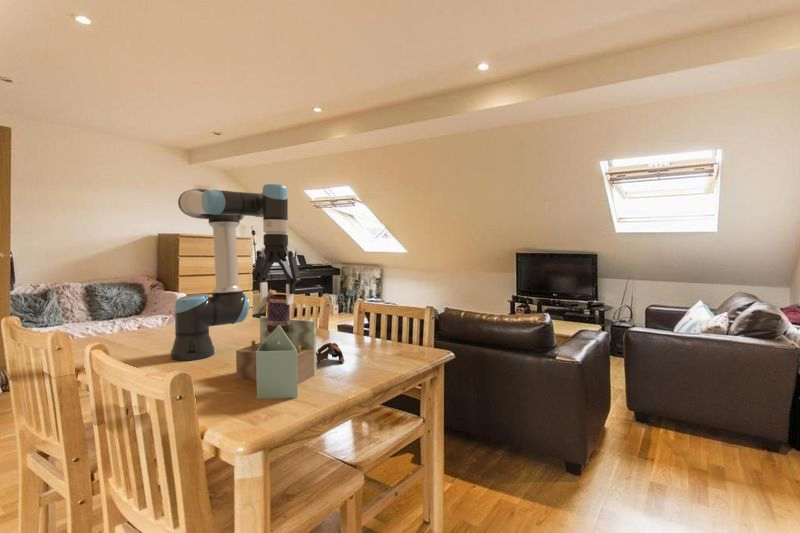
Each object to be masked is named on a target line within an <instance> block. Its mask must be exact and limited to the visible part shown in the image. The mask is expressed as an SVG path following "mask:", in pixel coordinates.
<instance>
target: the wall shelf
mask: <svg viewBox="0 0 800 533" xmlns="http://www.w3.org/2000/svg"><path fill="white" fill-rule="evenodd" d="M267 319H268V317H267V316H263V315H261V316H260V317H259V341H260V342H258V343H256V340H251V343H250V344H251V345H249V346H246V347H243V348H239V349H237V350H235V356H236V358H235V359H236V360H235V361H236V369H235V370H236V379H240V380H241V379H242V380H248V381H255V382H257V378H256V351H257V349H258V348H259V346H260V345H261V344H262V342H263V341H264V340H265V339H266V338H267V337H268V336H269V335H270V334H271V333H269V332H268V331H267V325H268V324H267ZM289 319H290V325H289V331H288V332H287V333H285V334H286V335H287V337H288V338H289V339H290V341H291V342H292V344H293V345H294V347H295V348H296V350H297V372H298V385H300V384H301V383H303V382H305V381H307V380H309V379H311V378H313V377H315V376H316V375H317V361H316V360H317V359H316V358H317V356H316V352H317V321H316V320H308V319H295V318H289ZM279 343H280V338H279Z"/></svg>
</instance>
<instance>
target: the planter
mask: <svg viewBox="0 0 800 533" xmlns="http://www.w3.org/2000/svg"><path fill="white" fill-rule="evenodd" d="M279 338H280V343H279ZM256 378H257V381H256V399H259V400H270V399H271V400H274V399H297V398H298V397H299V394H298V392H299V391H298V390H299V388H298V385H299V384H298V372H297V350H296V348H295V347H294V345H293V344H292V342H291V341H290V339H289V338H288V337H287V335H286V334H285V332H284V331H283V329H282V328H281V326H280V325H278V326H277V328H276V329H275V330H274V331H273V332H272V333H271V334H270V335H269V336H268V337H267V338H266V339H265V340H264V341H263V342H262V344H261V345H260V346H259V348H258V349H257V351H256Z"/></svg>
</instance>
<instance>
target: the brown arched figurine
mask: <svg viewBox="0 0 800 533" xmlns="http://www.w3.org/2000/svg"><path fill="white" fill-rule="evenodd" d="M329 355H331V357H332V358H338V360H339V361H341V365H344V363H345V358H344V355H343V352H342V350H341V348H340V347H339V344H337V343H336V342H327V343H324V344H323V345H321V347H319V348H318V349H316V362H317V363H320V362H321V361H323V360H327V361H329Z"/></svg>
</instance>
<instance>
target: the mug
mask: <svg viewBox="0 0 800 533" xmlns="http://www.w3.org/2000/svg"><path fill="white" fill-rule="evenodd" d="M266 304H267V305H266V317H268V319H267V324H268V325H267V331H268V332H269V333H272V332H273V331H274V330H275V329H276V328H277V326H278V325H280V326H281V328H282V329H283V331H284V332H285V333H287V332H288V331H289V325H290V319H291V318H290V308H291V306H290V305H291V304H290V305H286V293H285V294H284V293H283V294H282V293H275V292H273V291H270V292H268V297H267V302H266Z"/></svg>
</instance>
